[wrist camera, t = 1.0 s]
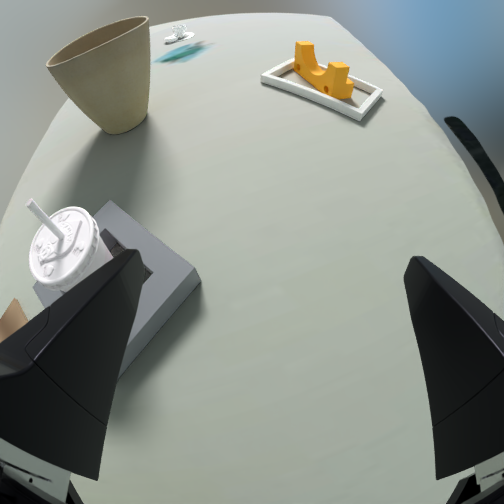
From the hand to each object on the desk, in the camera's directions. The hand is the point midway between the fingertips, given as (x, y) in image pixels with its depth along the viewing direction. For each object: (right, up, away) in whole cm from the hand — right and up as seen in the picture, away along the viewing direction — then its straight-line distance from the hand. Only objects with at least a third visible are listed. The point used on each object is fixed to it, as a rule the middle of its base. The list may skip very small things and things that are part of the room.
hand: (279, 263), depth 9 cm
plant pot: (-21, +21, +29) cm, 41 cm away
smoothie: (-14, -4, +16) cm, 22 cm away
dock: (-14, -3, +16) cm, 22 cm away
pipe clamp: (+11, +30, +33) cm, 46 cm away
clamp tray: (+11, +29, +32) cm, 44 cm away
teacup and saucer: (-23, +58, +48) cm, 79 cm away
